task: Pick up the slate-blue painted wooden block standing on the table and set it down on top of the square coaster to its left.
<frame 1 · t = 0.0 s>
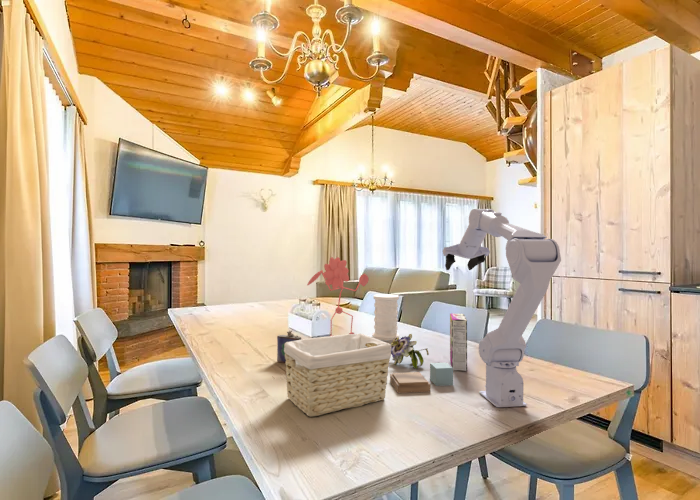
hand: (457, 267, 125), 32 cm above the table, tool tilted 50°, fingers open, 7 cm apart
square coaster: (409, 386, 106), on the table
candy bar box: (457, 366, 125), on the table
passion flower: (407, 364, 127), on the table
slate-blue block: (441, 382, 110), on the table
decorative container: (385, 337, 164), on the table
storage basket: (337, 400, 97), on the table
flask: (289, 363, 127), on the table
figurine: (335, 347, 147), on the table
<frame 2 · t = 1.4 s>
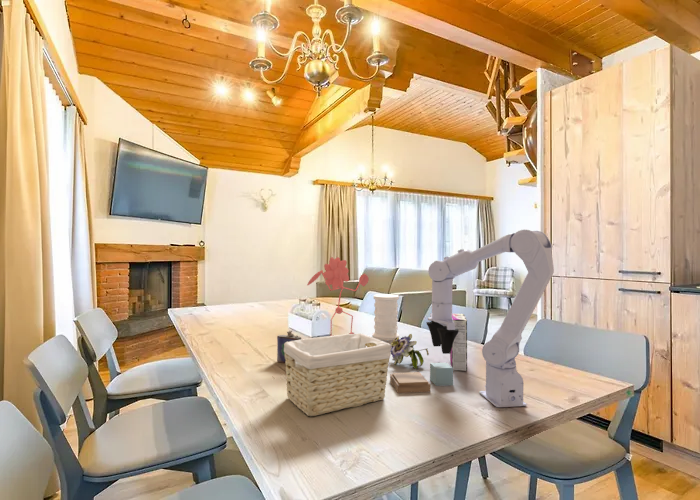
hand: (441, 349, 110), 9 cm above the table, tool pointing down, fingers open, 7 cm apart
nothing on the table moved.
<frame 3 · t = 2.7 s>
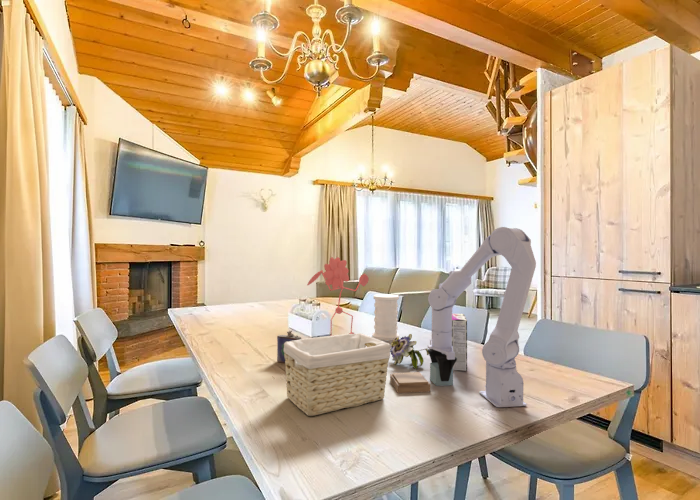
hand: (441, 377, 110), 1 cm above the table, tool pointing down, fingers closed on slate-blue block, 5 cm apart
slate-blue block: (441, 382, 110), on the table, touching gripper
everything else where it was.
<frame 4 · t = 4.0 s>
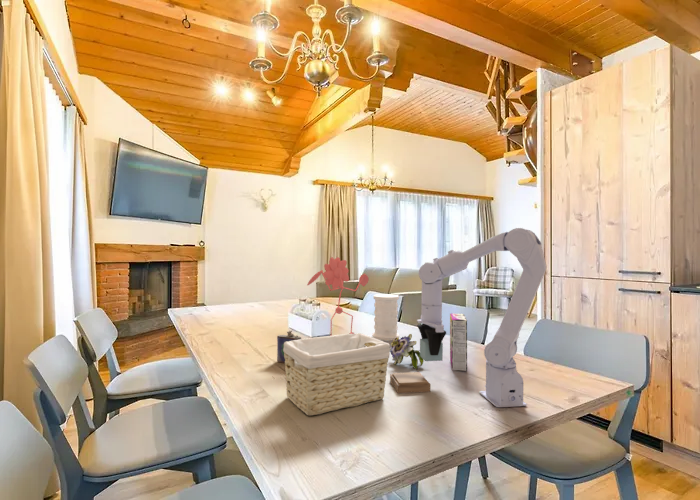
hand: (430, 352, 109), 9 cm above the table, tool pointing down, fingers closed on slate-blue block, 5 cm apart
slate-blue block: (430, 358, 109), point 7 cm above the table, touching gripper
everything else where it was.
when the fingers open (5 cm above the table, at t = 5.5 s): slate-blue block drops 1 cm, resting on square coaster.
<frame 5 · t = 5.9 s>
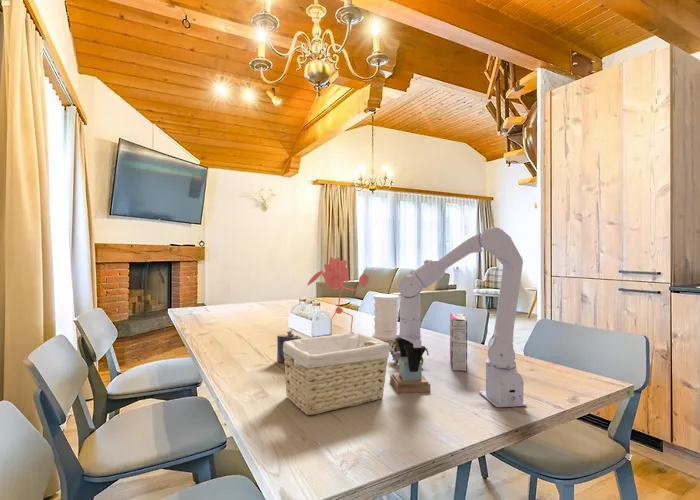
hand: (409, 366, 106), 5 cm above the table, tool pointing down, fingers open, 7 cm apart
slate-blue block: (410, 377, 106), point 2 cm above the table, touching square coaster
everything else where it was.
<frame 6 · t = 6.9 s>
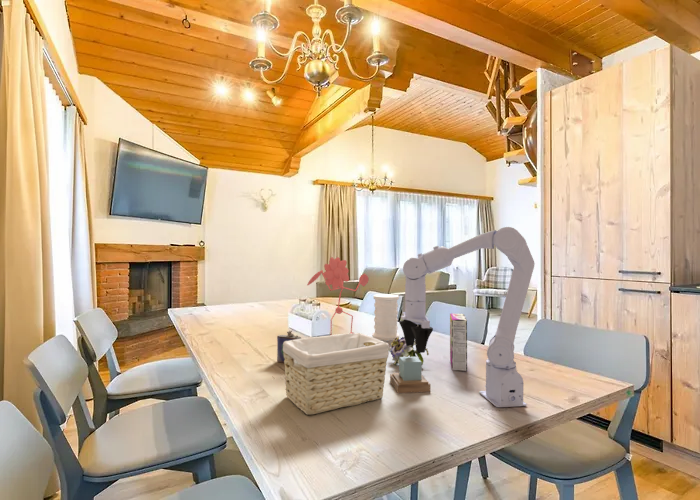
hand: (415, 348, 107), 10 cm above the table, tool pointing down, fingers open, 7 cm apart
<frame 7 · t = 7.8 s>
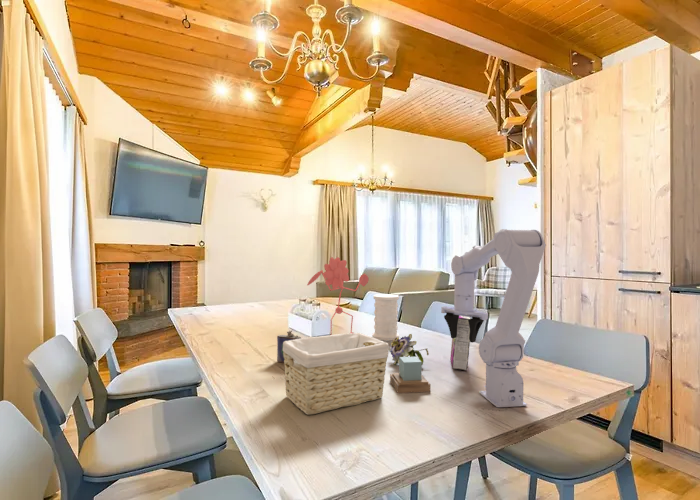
hand: (463, 339, 116), 11 cm above the table, tool pointing down, fingers open, 6 cm apart
candy bar box: (457, 365, 125), on the table, touching gripper
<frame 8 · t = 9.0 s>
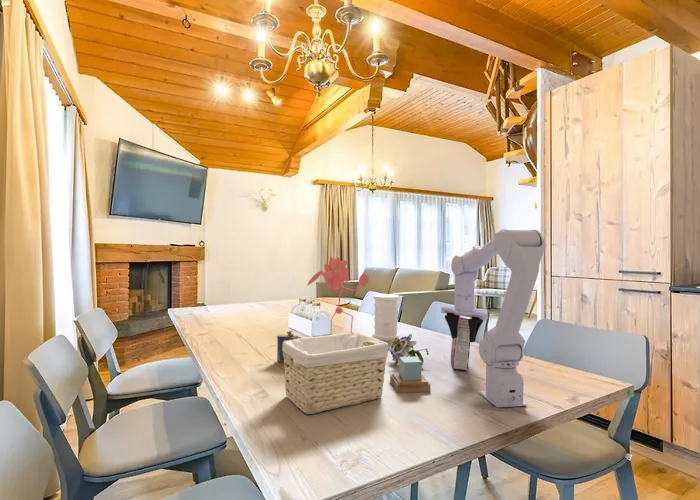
hand: (463, 339, 116), 11 cm above the table, tool pointing down, fingers open, 5 cm apart
at the end: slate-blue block inside the target area on the square coaster (0.1 cm from its centre), point 2.5 cm above the square coaster's base; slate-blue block tilted 0°; the gripper is holding nothing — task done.
